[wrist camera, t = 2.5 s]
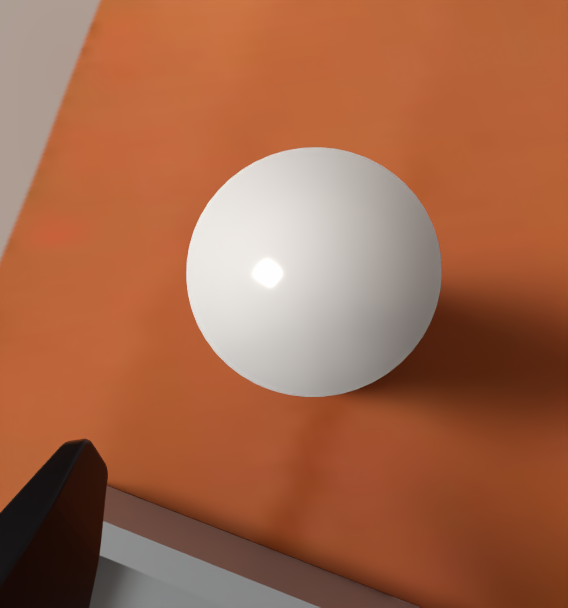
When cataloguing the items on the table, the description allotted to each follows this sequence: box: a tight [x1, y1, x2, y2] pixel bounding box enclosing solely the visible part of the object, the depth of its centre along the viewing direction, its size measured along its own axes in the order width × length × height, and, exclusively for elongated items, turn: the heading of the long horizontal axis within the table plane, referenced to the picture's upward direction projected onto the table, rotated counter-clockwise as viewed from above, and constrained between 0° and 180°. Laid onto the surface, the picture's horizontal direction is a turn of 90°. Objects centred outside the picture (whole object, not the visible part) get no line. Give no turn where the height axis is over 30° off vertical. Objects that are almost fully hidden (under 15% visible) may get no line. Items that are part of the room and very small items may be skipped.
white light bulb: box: [186, 147, 442, 397], centre depth 14 cm, size 5×5×10 cm
